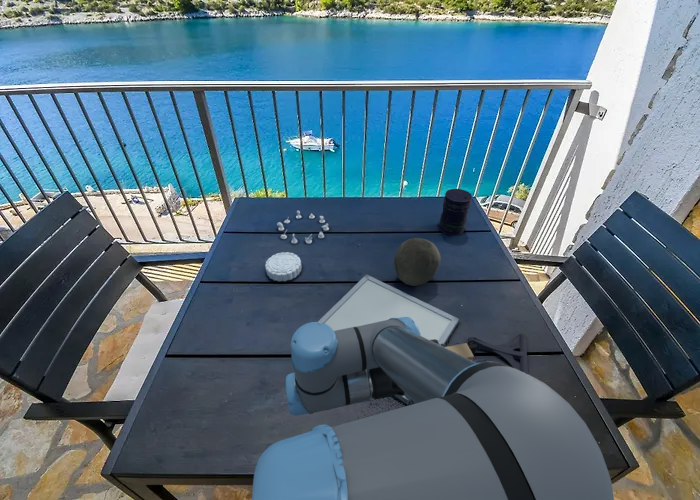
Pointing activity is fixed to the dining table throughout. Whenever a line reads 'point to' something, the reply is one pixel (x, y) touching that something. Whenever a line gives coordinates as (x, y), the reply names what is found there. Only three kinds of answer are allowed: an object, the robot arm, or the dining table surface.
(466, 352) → the eraser
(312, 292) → the dining table surface
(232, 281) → the dining table surface
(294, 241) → the game piece set
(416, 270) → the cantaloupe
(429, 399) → the robot arm
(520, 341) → the bracket
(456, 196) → the storage jar
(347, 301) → the board
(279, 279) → the mooncake
